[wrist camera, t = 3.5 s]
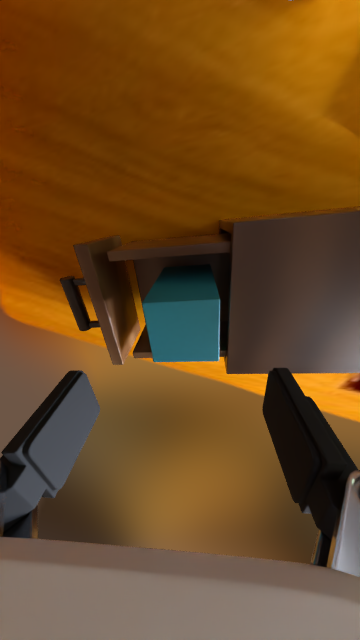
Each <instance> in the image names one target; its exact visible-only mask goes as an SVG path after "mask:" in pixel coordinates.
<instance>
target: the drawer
mask: <svg viewBox="0 0 360 640" xmlns="http://www.w3.org/2000/svg"><path fill="white" fill-rule="evenodd" d="M73 246H74V249H75V252H76V255H77V258H78V261H79V264H80V267H81V270H82V273H83V276H84V278H76V279H75V277H74V276H67V277H63V278H61V279H60V282H61V284H62V287H63V290H64V292H65V295H66V297H67V300H68V302H69V305H70V307H71V310H72V312H73V315H74V317H75V320H76V322H77V325H78V327H79V330H80V331H86V330H89V329H91V328H95V327H101V330H102V333H103V336H104V339H105V342H106V345H107V348H108V351H109V354H110V357H111V360H112V363H113V365H122V364H124V361H125V359H126V358H127V356H128V353H129V351H130V349H131V347H132V345H133V343H134V341H135V339H136V337H137V335H138V333H139V331H140V326H139V321H138V317H137V312H136V308H135V303H134V299H133V294H132V289H131V285H130V280H129V276H128V271H127V266H126V262H125V260H133V261H134V266H135V271H136V276H137V281H138V286H139V292H140V297H141V302H143V301H144V299H145V297H146V296H147V294H148V293H149V291H150V289H151V288H152V286H153V284H154V283H155V281H156V280H157V278H158V276H159V275H160V273H161V272H162V270H163V268H164V267H176V266H190V265H205V264H210V265H211V269H212V272H213V276H214V280H215V283H216V287H217V290H218V294H219V298H220V335H219V357H226V352H227V326H228V300H229V274H230V248H231V234H230V233H223V234H211V235H200V236H188V237H177V238H165V239H154V240H142V241H132V242H129V243H127V244H124V245H122V244H121V239H120V235H117V236H109V237H105V238H101V239H96V240H92V241H88V242H84V243H80V244H76V245H73ZM78 285H87V288H88V291H89V294H90V297H91V300H92V303H93V306H94V309H95V312H96V315H97V318H98V321H90V318H89V315H88V312H87V310H86V307H85V304H84V301H83V298H82V296H81V293H80V290H79V287H78ZM142 307H143V306H142ZM143 312H144V311H143ZM144 317H145V316H144ZM145 322H146V321H145ZM133 356H134V358H153V357H152V352H151V347H150V342H149V337H148V331H147V326H146V325H145V327H144V329H143V332H142V334H141V336H140V338H139V340H138V342H137V344H136V347H135V349H134V351H133Z"/></svg>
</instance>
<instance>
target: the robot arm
mask: <svg viewBox="0 0 360 640" xmlns="http://www.w3.org/2000/svg"><path fill="white" fill-rule="evenodd" d="M290 1H292V0H290ZM99 412H100V407H99V404H98V402H97V399H96V397H95V394H94V392H93V390H92V387H91V385H90V383H89V380H88V378H87V375H86V374H85V373H84V372H83V371H69V372H68V373H67V374H66V375H65V376H64V378H63V379H62V380H61V381H60V382H59V384H58V385H57V386H56V387H55V388H54V390H53V391H52V392H51V393H50V394H49V396H48V397H47V398H46V399H45V400H44V402H43V403H42V404H41V405H40V406H39V408H38V409H37V410H36V411H35V412H34V414H33V415H32V416H31V417H30V418H29V420H28V421H27V422H26V423H25V424H24V426H23V427H22V428H21V429H20V430H19V432H18V433H17V434H16V435H15V436H14V438H13V439H12V440H11V441H10V442H9V444H8V445H7V446H6V447H5V448H4V450H3V451H2V454H3V456H2V457H1V458H0V640H360V470H358V469H357V467H356V466H355V464H354V462H353V461H352V459H351V458H350V456H349V455H348V453H347V452H346V450H345V449H344V447H343V445H342V444H341V442H340V441H339V439H338V438H337V436H336V435H335V433H334V432H333V430H332V428H331V427H330V425H329V424H328V422H327V421H326V419H325V418H324V416H323V415H322V413H321V412H320V410H319V408H318V407H317V405H316V404H315V402H314V401H313V400H312V399H311V398H310V397H307V396H305V395H304V393H303V392H302V390H301V389H300V387H299V385H298V384H297V382H296V381H295V379H294V377H293V376H292V374H291V372H290V371H289V369H288V368H273V370H272V371H269V374H268V380H267V385H266V391H265V397H264V403H263V415H264V418H265V421H266V424H267V427H268V430H269V433H270V435H271V438H272V441H273V444H274V447H275V450H276V453H277V456H278V459H279V461H280V464H281V467H282V470H283V473H284V476H285V479H286V482H287V485H288V487H289V490H290V493H291V496H292V499H293V501H294V502H295V503H299V506H300V508H301V511H302V513H311V514H312V516H313V519H314V521H315V524H316V526H317V528H319V530H318V535H317V539H316V543H315V547H314V551H313V555H312V560H311V564H304V563H296V562H288V561H279V560H270V559H261V558H252V557H242V556H230V555H219V554H209V553H197V552H187V551H186V552H185V551H176V550H163V549H152V548H140V547H129V546H117V545H106V544H94V543H81V542H68V541H56V540H43V539H38V506H37V504H38V502H39V500H40V498H41V496H42V497H47V498H54V497H55V495H56V493H57V491H58V490H59V489H61V488H62V486H63V485H64V483H65V481H66V479H67V477H68V475H69V473H70V471H71V469H72V467H73V465H74V463H75V461H76V459H77V457H78V455H79V453H80V451H81V449H82V447H83V445H84V443H85V441H86V439H87V437H88V435H89V433H90V431H91V429H92V427H93V425H94V423H95V421H96V418H97V416H98V415H99Z"/></svg>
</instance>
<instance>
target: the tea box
mask: <svg viewBox="0 0 360 640" xmlns="http://www.w3.org/2000/svg"><path fill="white" fill-rule="evenodd" d="M142 306H143V311H144V316H145V321H146V326H147V331H148V337H149V342H150V347H151V352H152V357H153V362H190V361H219V335H220V298H219V294H218V290H217V287H216V283H215V280H214V276H213V272H212V269H211V265H210V264H205V265H190V266H176V267H164V268H163V270H162V272H161V273H160V275H159V276H158V278H157V280H156V281H155V283H154V284H153V286H152V288H151V289H150V291H149V293H148V294H147V296H146V297H145V299H144V301H143V302H142Z"/></svg>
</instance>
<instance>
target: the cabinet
mask: <svg viewBox="0 0 360 640" xmlns="http://www.w3.org/2000/svg"><path fill="white" fill-rule="evenodd" d="M223 233H230V234H231V248H230V274H229V300H228V326H227V352H226V357H224V361H225V367H226V372H227V374H269V371H272V370H273V368H288V369H289V371H290V372H291V373H360V206H358V207H347V208H337V209H326V210H316V211H305V212H294V213H284V214H273V215H263V216H252V217H241V218H231V219H220V220H219V234H223Z"/></svg>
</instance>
